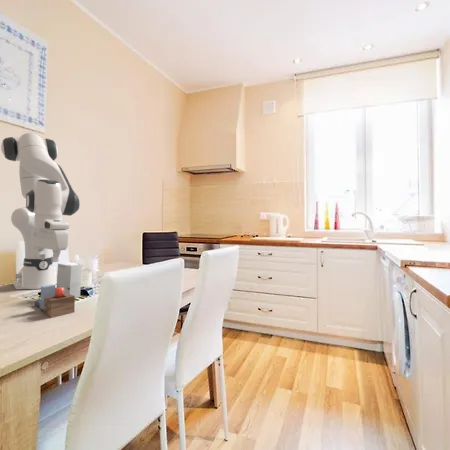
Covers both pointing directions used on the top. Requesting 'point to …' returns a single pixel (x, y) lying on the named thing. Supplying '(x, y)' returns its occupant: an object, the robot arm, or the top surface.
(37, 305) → the rail
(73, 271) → the skincare box
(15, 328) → the top surface
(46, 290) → the light blue stepped block
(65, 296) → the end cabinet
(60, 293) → the button
